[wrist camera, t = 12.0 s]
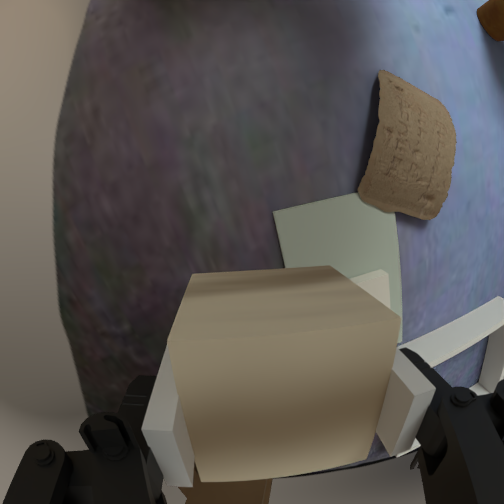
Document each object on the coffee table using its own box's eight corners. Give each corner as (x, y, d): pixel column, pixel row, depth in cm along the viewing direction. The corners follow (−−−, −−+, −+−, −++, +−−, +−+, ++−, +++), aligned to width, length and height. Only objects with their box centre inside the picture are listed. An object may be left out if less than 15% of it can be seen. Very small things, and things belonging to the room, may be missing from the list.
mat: (272, 211, 26) (273, 212, 26) (387, 185, 27) (390, 186, 26) (305, 372, 31) (307, 375, 30) (399, 339, 31) (402, 341, 30)
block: (192, 273, 12) (167, 340, 7) (329, 265, 13) (401, 317, 7) (206, 387, 14) (201, 482, 8) (323, 376, 14) (366, 458, 8)
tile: (300, 300, 26) (314, 375, 28) (388, 273, 26) (391, 348, 28) (296, 293, 28) (310, 366, 30) (380, 268, 28) (384, 341, 30)
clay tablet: (431, 223, 27) (446, 225, 24) (352, 197, 26) (365, 197, 23) (444, 103, 25) (459, 98, 22) (372, 65, 24) (384, 56, 21)
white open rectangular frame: (389, 350, 31) (409, 372, 26) (498, 295, 32) (520, 307, 27) (384, 436, 36) (396, 457, 31) (480, 383, 36) (496, 397, 31)
